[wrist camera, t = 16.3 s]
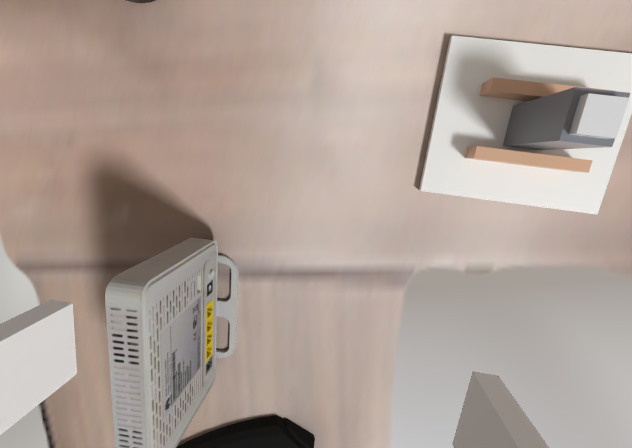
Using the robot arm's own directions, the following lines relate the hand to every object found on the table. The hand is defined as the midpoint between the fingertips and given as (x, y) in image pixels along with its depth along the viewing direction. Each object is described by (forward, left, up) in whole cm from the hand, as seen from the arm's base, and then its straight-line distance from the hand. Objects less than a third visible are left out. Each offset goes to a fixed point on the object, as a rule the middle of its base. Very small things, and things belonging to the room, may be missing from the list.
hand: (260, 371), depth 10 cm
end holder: (-14, +25, -37) cm, 47 cm away
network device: (+20, -17, -37) cm, 45 cm away
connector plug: (-14, +25, -36) cm, 46 cm away
